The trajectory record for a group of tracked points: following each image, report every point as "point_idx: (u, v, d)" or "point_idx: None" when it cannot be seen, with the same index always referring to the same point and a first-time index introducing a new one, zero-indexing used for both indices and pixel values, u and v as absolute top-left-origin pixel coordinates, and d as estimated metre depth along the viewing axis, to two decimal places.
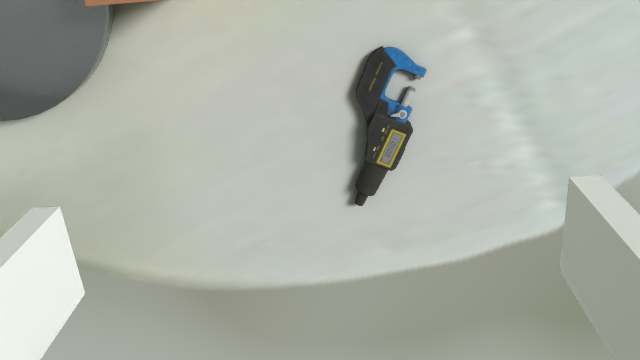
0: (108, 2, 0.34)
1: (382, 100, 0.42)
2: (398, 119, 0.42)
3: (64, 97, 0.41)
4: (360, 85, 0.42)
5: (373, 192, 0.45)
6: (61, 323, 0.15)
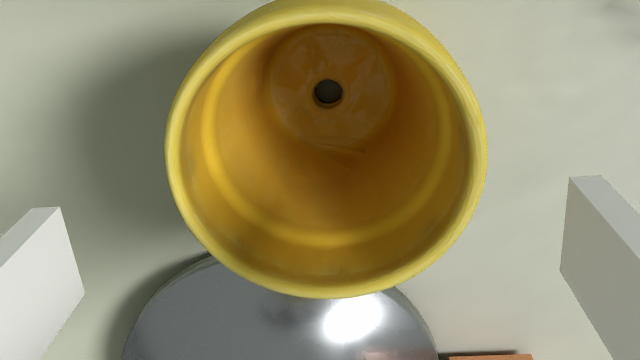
0: None
1: None
2: None
3: None
4: None
5: None
6: (61, 323, 0.15)
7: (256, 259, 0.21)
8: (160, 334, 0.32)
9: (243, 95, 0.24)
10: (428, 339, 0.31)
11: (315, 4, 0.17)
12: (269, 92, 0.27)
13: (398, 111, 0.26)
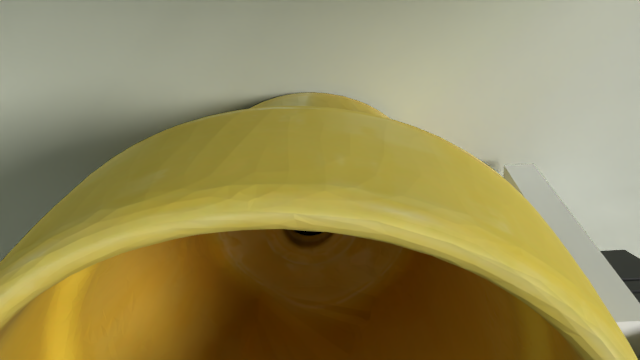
0: None
1: None
2: None
3: None
4: None
5: None
6: None
7: None
8: None
9: (154, 252, 0.14)
10: None
11: (251, 183, 0.06)
12: None
13: (426, 259, 0.16)
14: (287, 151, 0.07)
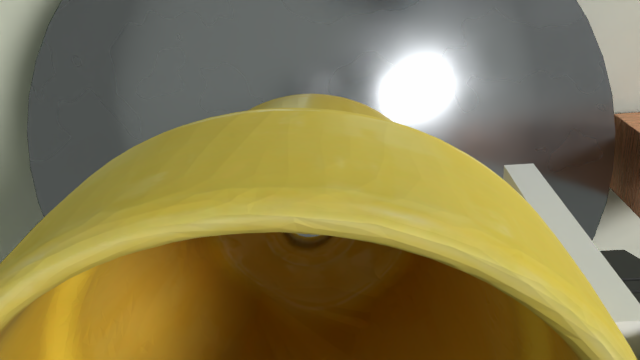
0: None
1: None
2: None
3: None
4: None
5: None
6: None
7: None
8: (95, 47, 0.17)
9: (154, 254, 0.14)
10: (598, 48, 0.17)
11: (251, 186, 0.06)
12: None
13: (426, 260, 0.16)
14: (287, 154, 0.07)
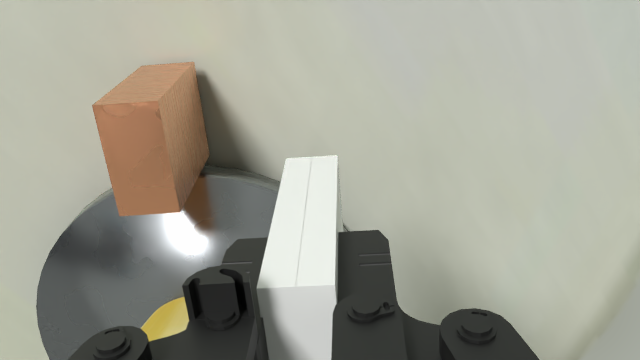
0: (170, 180, 0.22)
1: None
2: None
3: None
4: None
5: None
6: None
7: None
8: None
9: None
10: (106, 198, 0.28)
11: None
12: None
13: None
14: None
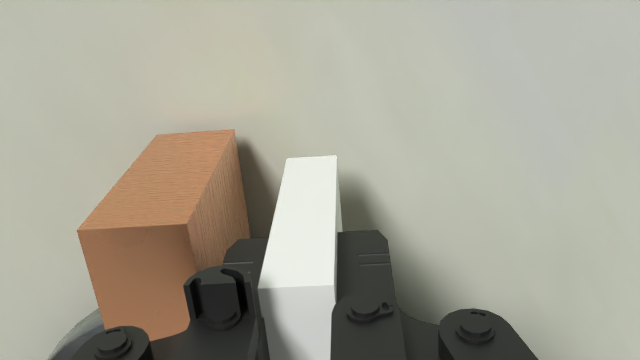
0: None
1: None
2: None
3: None
4: None
5: None
6: None
7: None
8: None
9: None
10: None
11: None
12: None
13: None
14: None
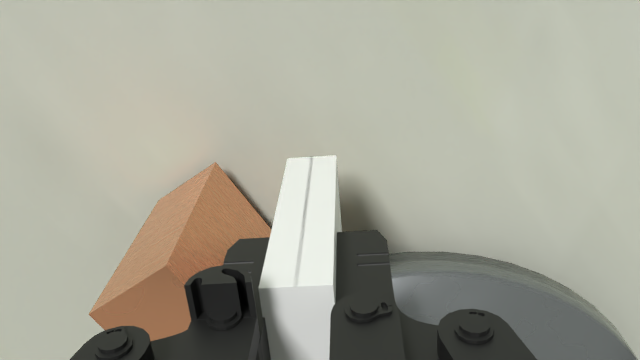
0: None
1: None
2: None
3: (551, 302, 0.19)
4: None
5: None
6: None
7: None
8: None
9: None
10: None
11: None
12: None
13: None
14: None
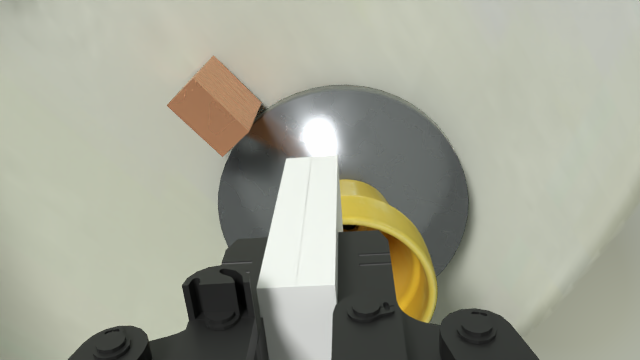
0: (231, 117, 0.35)
1: None
2: None
3: (379, 97, 0.39)
4: None
5: None
6: None
7: (426, 283, 0.34)
8: None
9: None
10: None
11: None
12: None
13: None
14: None
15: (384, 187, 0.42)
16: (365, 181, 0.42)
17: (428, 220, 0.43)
